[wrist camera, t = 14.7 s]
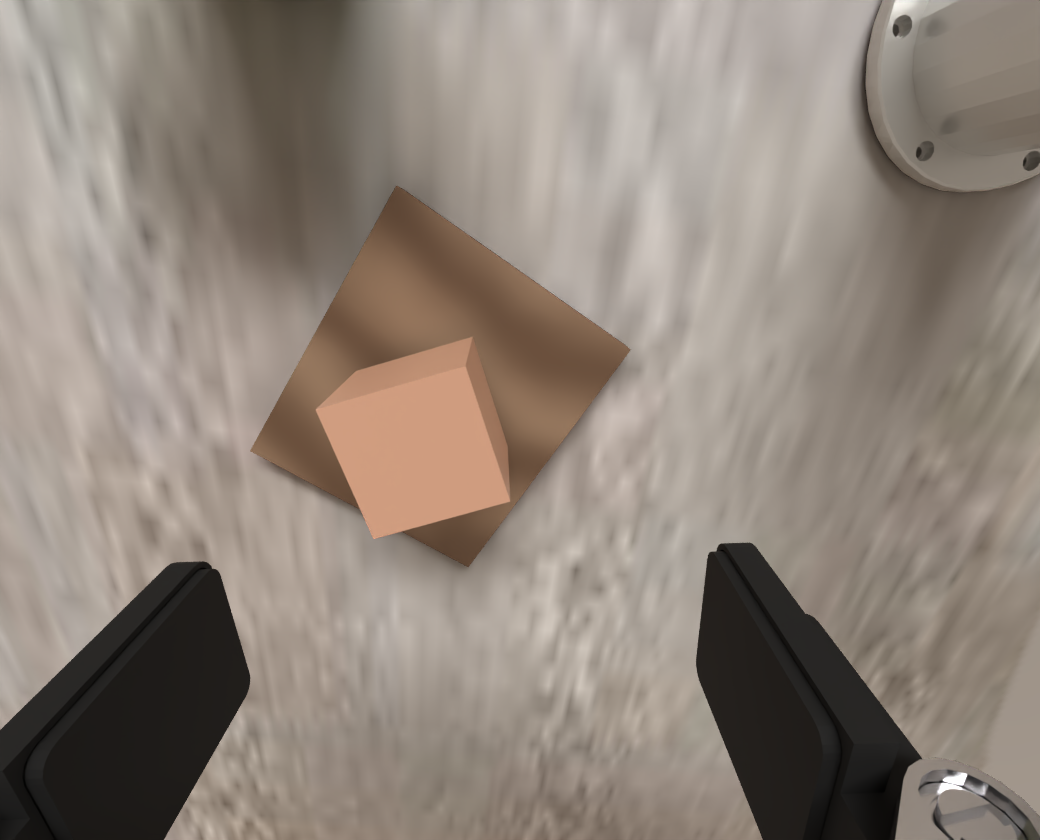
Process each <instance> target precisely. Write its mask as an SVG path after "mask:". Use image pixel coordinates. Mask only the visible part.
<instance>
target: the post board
mask: <svg viewBox="0 0 1040 840" xmlns="http://www.w3.org/2000/svg"><path fill="white" fill-rule="evenodd" d="M470 337H473V339H474V342H475V346H476V349H477V352H478V355H479V358H480V361H481V364H482V368H483V371H484V374H485V377H486V380H487V383H488V386H489V389H490V393H491V396H492V399H493V402H494V405H495V408H496V411H497V414H498V418H499V421H500V424H501V427H502V430H503V433H504V436H505V440H506V443H507V446H508V465H509V485H510V502H507V503H503V504H500V505H496V506H492V507H489V508H485V509H481V510H478V511H474V512H470V513H467V514H463V515H459V516H456V517H452V518H449V519H445V520H441V521H438V522H434V523H430V524H427V525H423V526H419V527H416V528H412V529H408V530H405V531H401V532H403V533H405V534H407V535H409V536H411V537H413V538H415V539H416V540H418V541H420V542H422V543H424V544H426V545H428V546H430V547H431V548H433V549H435V550H437V551H439V552H441V553H443V554H445V555H447V556H448V557H450V558H452V559H454V560H456V561H458V562H460V563H462V564H463V565H465V566H467V567H469V565H470V564H471V563H472V561H473V560H474V559H475V557H476V556H477V555H478V553H479V552H480V551H481V549H482V548H483V547H484V545H485V544H486V543H487V541H488V540H489V539H490V537H491V536H492V535H493V533H494V532H495V531H496V529H497V528H498V527H499V525H500V524H501V523H502V521H503V520H504V519H505V517H506V516H507V515H508V513H509V512H510V511H511V509H512V508H513V507H514V505H515V504H516V503H517V501H518V500H519V499H520V497H521V496H522V495H523V493H524V492H525V491H526V489H527V488H528V486H529V485H530V484H531V482H532V481H533V480H534V478H535V477H536V476H537V474H538V473H539V472H540V470H541V469H542V468H543V466H544V465H545V464H546V462H547V461H548V460H549V458H550V457H551V456H552V454H553V453H554V452H555V450H556V449H557V448H558V446H559V445H560V444H561V442H562V441H563V440H564V438H565V437H566V436H567V434H568V433H569V432H570V430H571V429H572V428H573V426H574V425H575V424H576V422H577V421H578V420H579V418H580V417H581V416H582V414H583V413H584V412H585V410H586V409H587V408H588V406H589V405H590V404H591V402H592V401H593V400H594V398H595V397H596V396H597V394H598V393H599V391H600V390H601V389H602V387H603V386H604V385H605V383H606V382H607V381H608V379H609V378H610V377H611V375H612V374H613V373H614V371H615V370H616V369H617V367H618V366H619V365H620V363H621V362H622V361H623V359H624V358H625V357H626V355H627V354H628V353H629V351H630V349H629V348H628V347H627V346H626V345H624V344H623V343H622V342H620V341H619V340H617V339H616V338H615V337H613V336H612V335H610V334H609V333H607V332H606V331H605V330H603V329H602V328H600V327H599V326H597V325H596V324H595V323H593V322H592V321H590V320H589V319H588V318H586V317H585V316H583V315H582V314H580V313H579V312H578V311H576V310H575V309H573V308H572V307H570V306H569V305H568V304H566V303H565V302H563V301H562V300H560V299H559V298H558V297H556V296H555V295H553V294H552V293H550V292H549V291H548V290H546V289H545V288H543V287H542V286H540V285H539V284H538V283H536V282H535V281H533V280H532V279H530V278H529V277H528V276H526V275H525V274H523V273H522V272H520V271H519V270H518V269H516V268H515V267H513V266H512V265H511V264H509V263H508V262H506V261H505V260H503V259H502V258H501V257H499V256H498V255H496V254H495V253H493V252H492V251H491V250H489V249H488V248H486V247H485V246H483V245H482V244H481V243H479V242H478V241H476V240H475V239H473V238H472V237H471V236H469V235H468V234H466V233H465V232H463V231H462V230H461V229H459V228H458V227H456V226H455V225H453V224H452V223H451V222H449V221H448V220H446V219H445V218H443V217H442V216H441V215H439V214H438V213H436V212H435V211H434V210H432V209H431V208H429V207H428V206H426V205H425V204H424V203H422V202H421V201H419V200H418V199H416V198H415V197H414V196H412V195H411V194H409V193H408V192H406V191H405V190H404V189H402V188H400V187H398V186H396V187H395V189H394V191H393V193H392V194H391V196H390V198H389V200H388V202H387V203H386V205H385V207H384V209H383V211H382V212H381V214H380V216H379V218H378V220H377V222H376V223H375V225H374V227H373V229H372V231H371V232H370V234H369V236H368V238H367V240H366V242H365V243H364V245H363V247H362V249H361V251H360V252H359V254H358V256H357V258H356V260H355V261H354V263H353V265H352V267H351V269H350V271H349V272H348V274H347V276H346V278H345V280H344V281H343V283H342V285H341V287H340V289H339V291H338V292H337V294H336V296H335V298H334V300H333V301H332V303H331V305H330V307H329V309H328V311H327V312H326V314H325V316H324V318H323V320H322V321H321V323H320V325H319V327H318V329H317V330H316V332H315V334H314V336H313V338H312V340H311V341H310V343H309V345H308V347H307V349H306V350H305V352H304V354H303V356H302V358H301V360H300V361H299V363H298V365H297V367H296V369H295V370H294V372H293V374H292V376H291V378H290V380H289V381H288V383H287V385H286V387H285V389H284V390H283V392H282V394H281V396H280V398H279V399H278V401H277V403H276V405H275V407H274V409H273V410H272V412H271V414H270V416H269V418H268V419H267V421H266V423H265V425H264V427H263V429H262V430H261V432H260V434H259V436H258V438H257V439H256V441H255V443H254V445H253V447H252V449H251V450H250V451H251V452H253V453H255V454H257V455H259V456H261V457H263V458H264V459H266V460H268V461H270V462H272V463H274V464H276V465H278V466H279V467H281V468H283V469H285V470H287V471H289V472H291V473H293V474H294V475H296V476H298V477H300V478H302V479H304V480H306V481H308V482H309V483H311V484H313V485H315V486H317V487H319V488H321V489H323V490H324V491H326V492H328V493H330V494H332V495H334V496H336V497H338V498H339V499H341V500H343V501H345V502H347V503H349V504H351V505H353V506H355V507H356V508H358V509H360V508H359V506H358V503H357V501H356V499H355V497H354V494H353V492H352V490H351V488H350V486H349V483H348V481H347V479H346V477H345V474H344V472H343V470H342V468H341V465H340V463H339V461H338V459H337V457H336V454H335V452H334V450H333V448H332V445H331V443H330V441H329V439H328V436H327V434H326V432H325V430H324V428H323V425H322V423H321V421H320V419H319V416H318V414H317V412H316V409H317V408H318V407H319V406H320V405H321V404H322V403H323V402H324V401H325V400H326V399H327V398H328V397H329V396H330V395H331V394H332V393H333V392H334V391H336V390H337V389H338V388H339V387H340V386H341V385H342V384H343V383H344V382H345V381H346V380H347V379H348V378H349V377H350V376H351V375H352V374H353V373H354V372H356V371H358V370H361V369H365V368H368V367H371V366H375V365H378V364H382V363H385V362H388V361H392V360H395V359H399V358H402V357H405V356H409V355H412V354H416V353H419V352H422V351H426V350H429V349H433V348H436V347H439V346H443V345H446V344H450V343H453V342H456V341H460V340H463V339H467V338H470Z"/></svg>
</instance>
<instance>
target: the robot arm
mask: <svg viewBox="0 0 1040 840" xmlns="http://www.w3.org/2000/svg"><path fill="white" fill-rule="evenodd" d="M865 86H866V94H867V103H868V111H869V115H870V118H871V121H872V124H873V127H874V131H875V134H876V136H877V138H878V140H879V142H880V143H881V145H882V147H883V149H884V150H885V152H886V154H887V156H888V157H889V158H890V159H891V160H892V161H893V162H894V163H895V164H896V165H897V167H898V168H899V169H900V170H901V171H902V172H903V173H905V174H906V175H908V176H910V177H911V178H913V179H914V180H916V181H917V182H919V183H920V184H923V185H926V186H929V187H932V188H935V189H938V190H941V191H952V192H972V191H986V190H992V189H997V188H1001V187H1006V186H1010V185H1014V184H1016V183H1019V182H1021V181H1024V180H1026V179H1029V178H1031V177H1034V176H1036V175H1038V174H1039V173H1040V0H882V3H881V6H880V9H879V11H878V14H877V17H876V19H875V22H874V25H873V30H872V34H871V39H870V44H869V48H868V53H867V65H866V83H865ZM696 667H697V673H698V678H699V681H700V683H701V686H702V688H703V691H704V693H705V696H706V698H707V701H708V703H709V706H710V708H711V711H712V713H713V716H714V718H715V721H716V723H717V726H718V728H719V731H720V733H721V736H722V738H723V741H724V743H725V746H726V748H727V751H728V753H729V756H730V758H731V761H732V763H733V766H734V768H735V771H736V773H737V776H738V778H739V781H740V783H741V786H742V788H743V791H744V793H745V796H746V798H747V801H748V803H749V806H750V808H751V811H752V813H753V816H754V818H755V821H756V823H757V826H758V828H759V831H760V833H761V836H762V838H763V840H1040V816H1039V815H1038V814H1037V813H1036V812H1035V811H1034V810H1033V809H1032V808H1031V807H1030V805H1029V804H1028V803H1027V802H1026V801H1025V800H1024V799H1022V798H1021V797H1020V796H1019V795H1017V794H1016V793H1015V792H1013V791H1012V790H1011V789H1009V788H1008V787H1007V786H1005V785H1004V784H1003V783H1001V782H1000V781H998V780H996V779H995V778H993V777H991V776H989V775H988V774H986V773H984V772H982V771H981V770H979V769H976V768H974V767H971V766H968V765H966V764H963V763H960V762H958V761H954V760H948V759H942V758H928V759H922V758H921V756H920V755H919V754H918V752H917V751H916V750H915V749H914V747H913V746H912V745H911V743H910V742H909V741H908V739H907V738H906V737H905V735H904V734H903V733H902V731H901V730H900V729H899V727H898V726H897V725H896V723H895V722H894V721H893V719H892V718H891V717H890V716H889V714H888V713H887V712H886V710H885V709H884V708H883V706H882V705H881V704H880V702H879V701H878V700H877V698H876V697H875V696H874V694H873V693H872V692H871V690H870V689H869V688H868V687H867V685H866V684H865V683H864V681H863V680H862V679H861V677H860V676H859V675H858V673H857V672H856V671H855V669H854V668H853V667H852V665H851V664H850V663H849V661H848V660H847V659H846V657H845V656H844V655H843V654H842V652H841V651H840V650H839V648H838V647H837V646H836V644H835V643H834V642H833V640H832V639H831V638H830V636H829V635H828V634H827V632H826V631H825V630H824V628H823V627H822V626H821V625H820V623H819V622H818V621H817V620H816V619H815V618H814V617H812V616H810V615H808V614H805V613H804V611H803V610H802V609H801V607H800V606H799V605H798V603H797V602H796V601H795V599H794V598H793V597H792V595H791V594H790V593H789V591H788V590H787V588H786V587H785V586H784V584H783V583H782V582H781V580H780V579H779V578H778V576H777V575H776V574H775V572H774V571H773V570H772V568H771V567H770V565H769V564H768V563H767V561H766V560H765V559H764V557H763V556H762V555H761V553H760V552H759V551H758V549H757V548H756V547H755V546H754V545H753V544H752V543H725V544H720V545H719V546H718V548H717V552H710V553H709V555H708V559H707V568H706V577H705V586H704V594H703V603H702V612H701V621H700V630H699V639H698V648H697V657H696ZM249 685H250V674H249V670H248V667H247V663H246V660H245V656H244V653H243V650H242V646H241V643H240V640H239V636H238V633H237V630H236V626H235V623H234V619H233V616H232V613H231V609H230V606H229V603H228V599H227V596H226V592H225V589H224V586H223V582H222V579H221V576H220V573H219V572H218V571H217V570H216V569H212V567H211V565H210V564H208V563H207V562H176V563H172V564H170V565H169V566H167V567H166V568H165V569H164V570H163V571H162V572H161V573H160V574H159V575H158V576H157V577H156V578H155V579H154V580H153V581H152V582H151V583H150V584H149V585H148V586H147V587H146V588H145V589H144V590H143V591H141V592H140V593H139V594H138V595H137V596H136V597H135V598H134V599H133V600H132V601H131V602H130V603H129V604H128V605H127V606H126V607H125V608H124V609H123V610H122V611H121V612H120V613H119V614H118V615H117V616H116V617H115V618H114V619H113V620H112V621H111V622H110V623H109V624H108V625H107V626H106V627H105V628H104V629H103V630H102V631H101V632H100V633H99V634H98V635H97V636H96V637H95V638H94V639H93V640H92V641H91V642H89V643H88V644H87V645H86V646H85V647H84V648H83V649H82V650H81V651H80V652H79V653H78V654H77V655H76V656H75V657H74V658H73V659H72V660H71V661H70V662H69V663H68V664H67V665H66V666H65V667H64V668H63V669H62V670H61V671H60V672H59V673H58V674H57V675H56V676H55V677H54V678H53V679H52V680H51V681H50V682H49V683H48V684H47V685H46V686H45V687H44V688H43V689H42V690H41V691H40V692H39V693H38V694H36V695H35V696H34V697H33V698H32V699H31V700H30V701H29V702H28V703H27V704H26V705H25V706H24V707H23V708H22V709H21V710H20V711H19V712H18V713H17V714H16V715H15V716H14V717H13V718H12V719H11V720H10V721H9V722H8V723H7V724H6V725H5V726H4V727H3V728H2V729H1V730H0V840H164V838H165V837H166V835H167V833H168V831H169V830H170V828H171V826H172V824H173V823H174V821H175V819H176V817H177V816H178V814H179V812H180V810H181V809H182V807H183V805H184V803H185V802H186V800H187V798H188V796H189V795H190V793H191V791H192V789H193V788H194V786H195V784H196V783H197V781H198V779H199V777H200V776H201V774H202V772H203V770H204V769H205V767H206V765H207V763H208V762H209V760H210V758H211V756H212V755H213V753H214V751H215V749H216V748H217V746H218V744H219V742H220V741H221V739H222V737H223V735H224V734H225V732H226V730H227V728H228V727H229V725H230V723H231V721H232V720H233V718H234V716H235V714H236V713H237V711H238V709H239V707H240V706H241V704H242V702H243V700H244V699H245V697H246V695H247V693H248V689H249Z"/></svg>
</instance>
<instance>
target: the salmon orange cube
mask: <svg viewBox="0 0 1040 840" xmlns="http://www.w3.org/2000/svg"><path fill="white" fill-rule="evenodd" d="M316 412H317V414H318V416H319V419H320V421H321V423H322V425H323V428H324V430H325V432H326V434H327V436H328V439H329V441H330V443H331V445H332V448H333V450H334V452H335V454H336V457H337V459H338V461H339V463H340V465H341V468H342V470H343V472H344V474H345V477H346V479H347V481H348V483H349V486H350V488H351V490H352V492H353V494H354V497H355V499H356V501H357V503H358V506H359V508H360V510H361V512H362V515H363V517H364V519H365V521H366V523H367V526H368V528H369V530H370V532H371V535H372V537H373V539H376V538H379V537H383V536H387V535H390V534H394V533H398V532H401V531H405V530H408V529H412V528H416V527H419V526H423V525H427V524H430V523H434V522H438V521H441V520H445V519H449V518H452V517H456V516H459V515H463V514H467V513H470V512H474V511H478V510H481V509H485V508H489V507H492V506H496V505H500V504H503V503H507V502H510V485H509V465H508V446H507V443H506V440H505V436H504V433H503V430H502V427H501V424H500V421H499V418H498V414H497V411H496V408H495V405H494V402H493V399H492V396H491V393H490V389H489V386H488V383H487V380H486V377H485V374H484V371H483V368H482V364H481V361H480V358H479V355H478V352H477V349H476V346H475V342H474V339H473V337H470V338H467V339H463V340H460V341H456V342H453V343H450V344H446V345H443V346H439V347H436V348H433V349H429V350H426V351H422V352H419V353H416V354H412V355H409V356H405V357H402V358H399V359H395V360H392V361H388V362H385V363H382V364H378V365H375V366H371V367H368V368H365V369H361V370H358V371H356V372H354V373H353V374H352V375H351V376H350V377H349V378H348V379H347V380H346V381H345V382H344V383H343V384H342V385H341V386H340V387H339V388H338V389H337V390H336V391H334V392H333V393H332V394H331V395H330V396H329V397H328V398H327V399H326V400H325V401H324V402H323V403H322V404H321V405H320V406H319V407H318V408H317V409H316Z"/></svg>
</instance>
